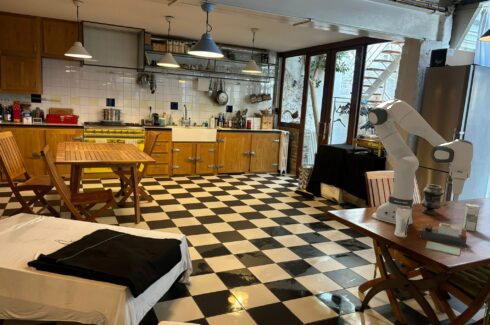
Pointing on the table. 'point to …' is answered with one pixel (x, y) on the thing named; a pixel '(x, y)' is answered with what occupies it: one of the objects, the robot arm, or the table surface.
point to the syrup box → (471, 217)
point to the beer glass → (402, 220)
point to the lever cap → (448, 230)
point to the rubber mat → (443, 248)
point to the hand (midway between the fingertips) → (455, 199)
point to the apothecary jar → (432, 198)
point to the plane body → (443, 236)
